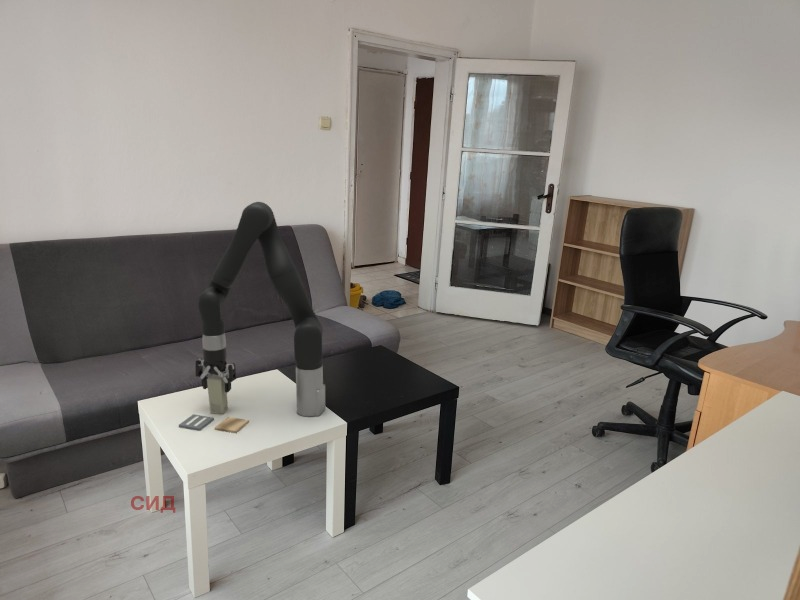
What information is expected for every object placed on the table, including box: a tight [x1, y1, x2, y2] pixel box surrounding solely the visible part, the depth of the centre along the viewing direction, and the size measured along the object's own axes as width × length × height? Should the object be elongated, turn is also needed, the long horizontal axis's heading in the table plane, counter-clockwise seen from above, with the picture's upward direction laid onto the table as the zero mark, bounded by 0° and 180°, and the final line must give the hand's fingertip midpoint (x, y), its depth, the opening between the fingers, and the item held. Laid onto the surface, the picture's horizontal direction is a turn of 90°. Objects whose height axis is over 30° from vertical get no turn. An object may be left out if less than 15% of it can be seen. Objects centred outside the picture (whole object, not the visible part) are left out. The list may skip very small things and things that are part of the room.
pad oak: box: [213, 416, 250, 434], centre depth 185 cm, size 8×8×1 cm
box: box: [207, 374, 229, 415], centre depth 194 cm, size 5×4×13 cm
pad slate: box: [178, 414, 215, 432], centre depth 186 cm, size 8×8×1 cm
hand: (216, 389), depth 193 cm, fingers open, 8 cm apart
